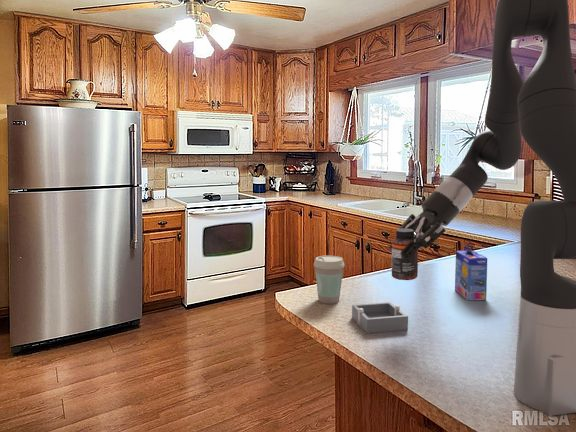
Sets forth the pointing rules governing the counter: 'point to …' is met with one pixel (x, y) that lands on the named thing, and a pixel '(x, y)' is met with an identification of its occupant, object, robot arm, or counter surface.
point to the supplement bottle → (400, 265)
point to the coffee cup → (329, 278)
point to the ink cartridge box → (471, 275)
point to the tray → (379, 317)
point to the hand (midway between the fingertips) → (397, 253)
